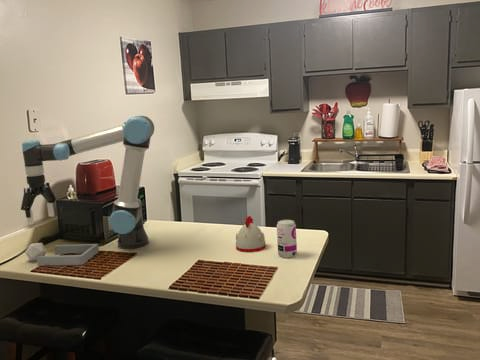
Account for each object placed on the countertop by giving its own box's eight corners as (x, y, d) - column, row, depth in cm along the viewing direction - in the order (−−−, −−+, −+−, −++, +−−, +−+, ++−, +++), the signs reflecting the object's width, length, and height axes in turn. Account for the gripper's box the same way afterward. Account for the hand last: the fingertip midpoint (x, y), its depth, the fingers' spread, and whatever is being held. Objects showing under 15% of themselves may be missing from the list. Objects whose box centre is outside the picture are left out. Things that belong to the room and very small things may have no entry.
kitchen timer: (231, 251, 204) (229, 219, 202) (242, 242, 217) (240, 212, 214) (260, 253, 199) (258, 220, 196) (269, 243, 211) (268, 213, 209)
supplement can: (299, 253, 196) (298, 219, 194) (293, 259, 189) (292, 225, 186) (281, 251, 200) (280, 218, 197) (275, 257, 192) (273, 224, 190)
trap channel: (99, 251, 216) (98, 243, 215) (83, 264, 199) (82, 256, 198) (56, 252, 218) (55, 245, 217) (37, 265, 201) (36, 257, 201)
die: (34, 265, 204) (45, 246, 206) (18, 256, 205) (30, 237, 206) (42, 265, 212) (53, 247, 214) (27, 257, 213) (38, 239, 215)
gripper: (47, 170, 216) (53, 213, 219) (7, 179, 192) (14, 227, 196) (60, 170, 213) (65, 213, 217) (21, 179, 190) (28, 228, 194)
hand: (41, 220), depth 207 cm, fingers open, 13 cm apart
